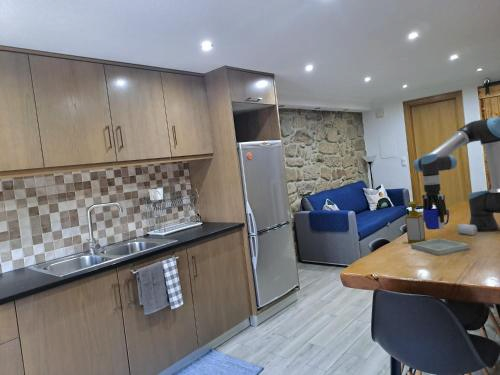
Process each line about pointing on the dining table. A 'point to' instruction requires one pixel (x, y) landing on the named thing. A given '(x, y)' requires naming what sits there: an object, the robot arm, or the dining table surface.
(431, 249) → the tray
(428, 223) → the mug
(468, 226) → the white cylinder
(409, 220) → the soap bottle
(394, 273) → the dining table surface
